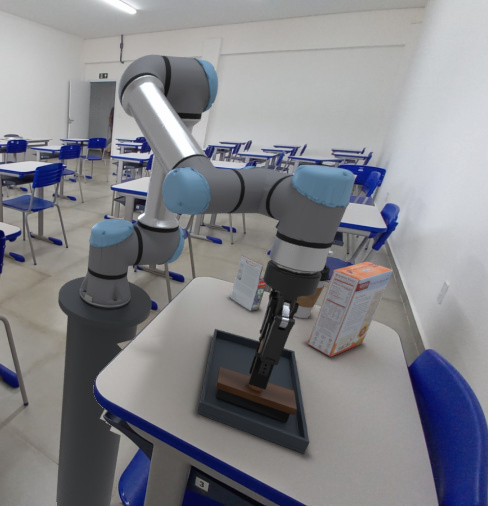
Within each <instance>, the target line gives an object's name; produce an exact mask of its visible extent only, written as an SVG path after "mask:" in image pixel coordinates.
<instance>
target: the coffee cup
mask: <svg viewBox="0 0 488 506" xmlns="http://www.w3.org/2000/svg"><path fill="white" fill-rule="evenodd" d="M330 271H331V268H330V267H329V266H327V265H326V264H325V266H324V268H323V270H321V271H320V273H321V278H320V281H319V284H318V286H317V289H316V292H315V293H314V294H313V295H310V296H301V297H297V301H296V302H297V303H299V307H298V310H297V312H296V313H295V314H294V317H296V318H298V319H299V318H300V319H307V318H309V317H310V315H311V313H312V311H313V309H314V307H315V305H316V303H317V302H318V299H319V298H320V295H321V294H322V291H323V290H324V288H325V284H326V282H327V281H329V278H330Z"/></svg>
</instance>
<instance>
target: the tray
mask: <svg viewBox="0 0 488 506" xmlns="http://www.w3.org/2000/svg"><path fill="white" fill-rule="evenodd" d="M258 343H259V344H261V342H259V340H256V339H253V338H250V337H245V336H242V335H239V334H235V333H231V332H228V331H225V330H222V329H217V328H214V331H213V334H212V339H211V344H210V348H209V354H208V359H207V364H206V369H205V374H204V378H203V384H202V389H201V392H200V393H201V394H200V399H199V405H198V410H197V414H198V415H199V416H203V417H206V418H208V419H211V420H213V421H216V422H219V423H221V424H223V425H227V426H229V427H232V428H234V429H236V430H240V431H241V432H245V433H247V434H250V435H253V436H255V437H258V438H260V439H262V440H263V439H264V440H266V441H269V442H272V443H273V444H276V445H278V446H282V447H283V448H287V449H288V450H289V449H290V450H292V451H295V452H297V453H300V454H302V455H305V454H306V451H307V449H308V446H309V444H310V438H309V432H308V426H307V420H306V419H307V418H306V413H305V408H304V402H303V396H302V390H301V382H300V377H299V371H298V365H297V359H296V353H295V351H294V350H292V349H288V348H285V347H284V349H283V351H282V354H281V357H280V359H279V363H278V365H274V367H273V369H272V372H271V375H270V378H269V381H268V383H271V384H274V385H277V386H280V387H284V388H287V389H290V390H293V391H294V394H295V401H296V408H297V410H296V412H295V415H292V414H290V416H289V418H288V421H287V423H286V422H283V421H280V420H277V419H275V418H272V417H269V416H266V415H263V414H261V413H258V412H255V411H252V410H249V409H247V408H244V407H241V406H238V405H235V404H233V403H230V402H227V401H224V400H222V399H219V398H216V395H217V388H216V384H217V378H218V372H219V368H220V367H222V368H225V369H228V370H231V371H234V372H237V373H240V374H243V375H247V376H251V374H250V373H249V371H250V368H251V365H252V361H253V358H254V355H255V351H256V349H257V345H258Z"/></svg>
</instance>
